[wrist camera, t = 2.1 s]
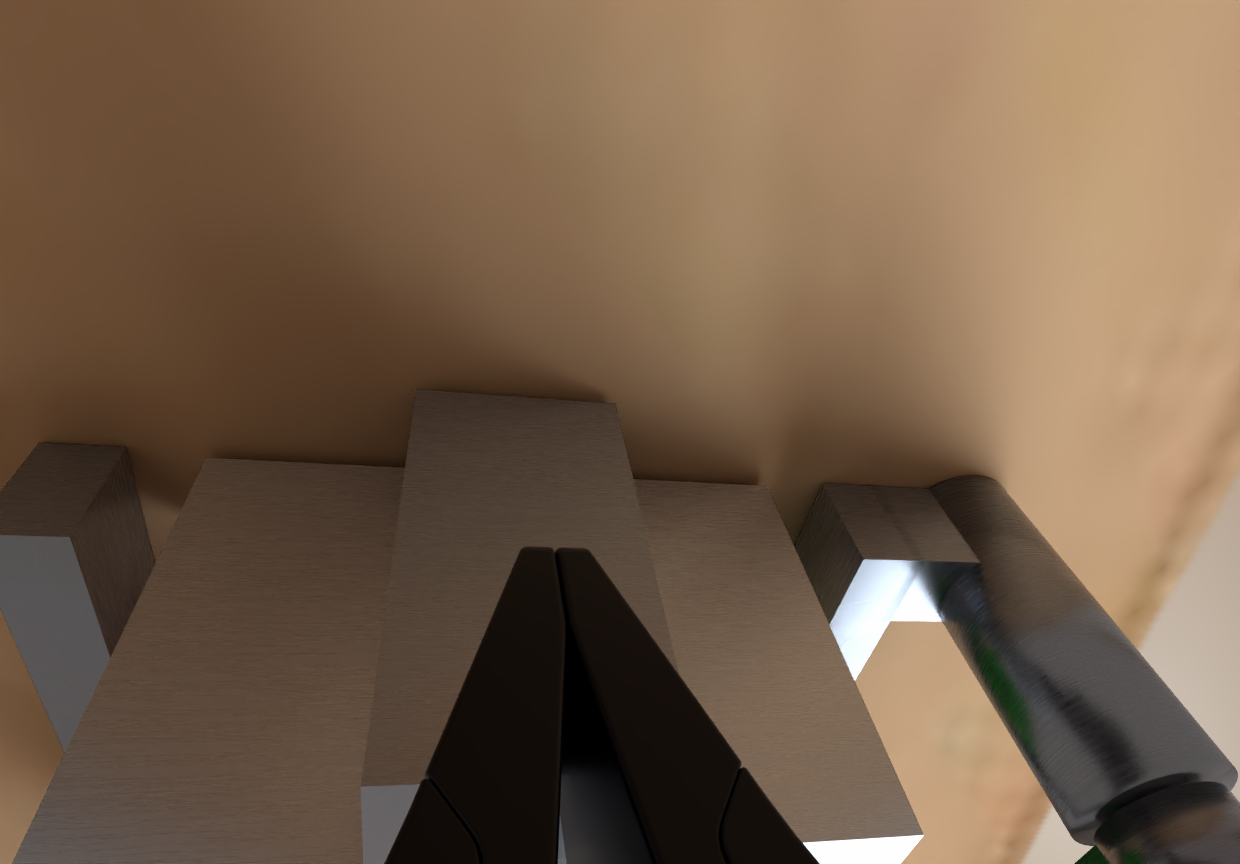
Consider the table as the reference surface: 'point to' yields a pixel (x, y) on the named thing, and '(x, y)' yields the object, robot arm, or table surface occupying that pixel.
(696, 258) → the table surface
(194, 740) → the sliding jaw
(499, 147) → the table surface
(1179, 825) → the lever
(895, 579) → the base
